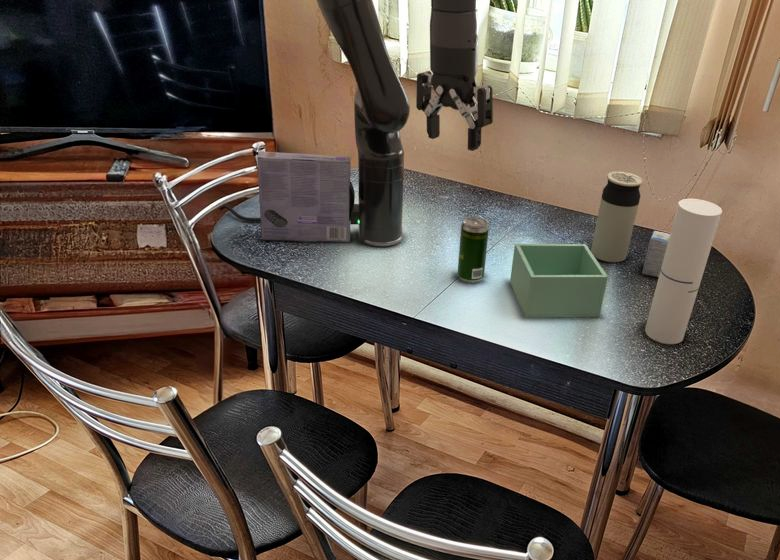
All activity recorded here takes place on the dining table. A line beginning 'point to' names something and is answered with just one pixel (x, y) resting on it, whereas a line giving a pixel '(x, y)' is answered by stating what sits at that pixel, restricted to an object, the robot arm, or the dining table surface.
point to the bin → (557, 280)
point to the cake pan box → (305, 197)
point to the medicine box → (655, 253)
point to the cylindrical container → (682, 269)
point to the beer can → (473, 249)
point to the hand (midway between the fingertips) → (453, 143)
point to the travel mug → (616, 217)
